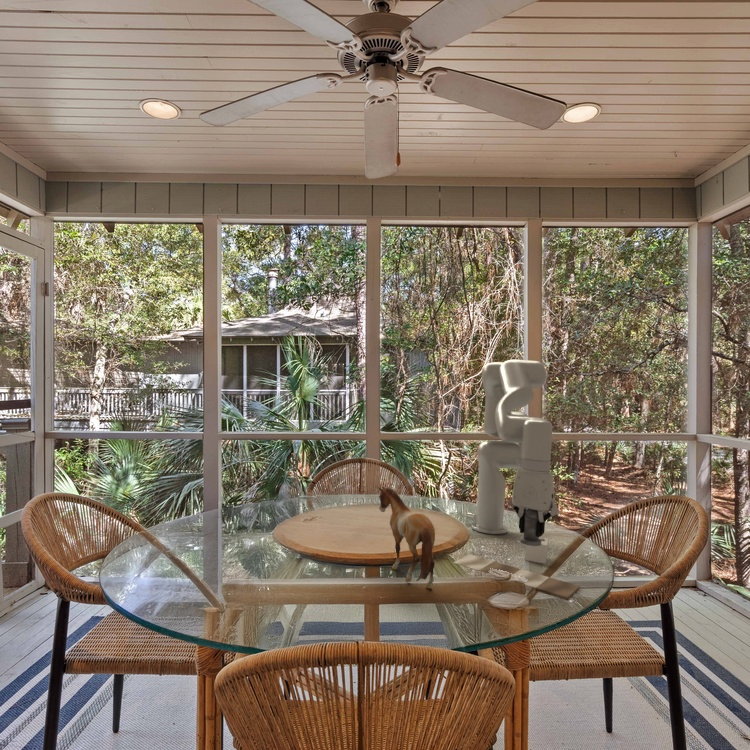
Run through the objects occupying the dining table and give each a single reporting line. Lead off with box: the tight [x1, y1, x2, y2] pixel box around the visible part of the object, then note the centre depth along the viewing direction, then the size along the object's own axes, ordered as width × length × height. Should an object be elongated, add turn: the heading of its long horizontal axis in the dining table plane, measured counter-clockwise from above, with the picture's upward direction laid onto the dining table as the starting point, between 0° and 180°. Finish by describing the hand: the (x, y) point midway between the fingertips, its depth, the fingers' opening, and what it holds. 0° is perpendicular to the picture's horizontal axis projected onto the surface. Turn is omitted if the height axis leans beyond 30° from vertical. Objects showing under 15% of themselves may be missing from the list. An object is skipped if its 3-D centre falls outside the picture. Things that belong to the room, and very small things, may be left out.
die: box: [524, 537, 549, 565], centre depth 156 cm, size 6×6×6 cm
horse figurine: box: [378, 486, 436, 589], centre depth 137 cm, size 31×8×21 cm, turn 20°
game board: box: [452, 553, 580, 601], centre depth 142 cm, size 32×10×1 cm, turn 53°
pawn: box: [519, 509, 541, 546], centre depth 139 cm, size 5×5×9 cm
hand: (531, 533), depth 139 cm, fingers closed on pawn, 3 cm apart
